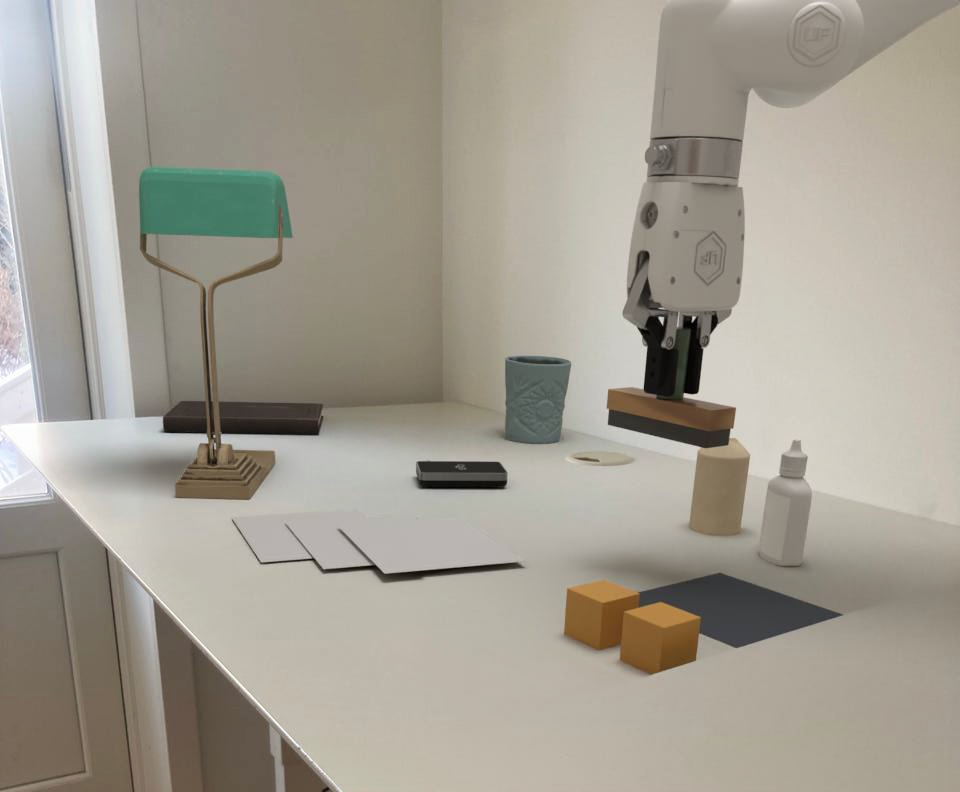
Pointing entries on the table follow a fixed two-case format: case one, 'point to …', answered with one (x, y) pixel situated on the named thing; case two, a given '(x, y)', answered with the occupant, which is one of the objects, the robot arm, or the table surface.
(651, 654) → the cube
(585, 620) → the cube
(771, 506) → the eye dropper bottle
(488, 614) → the table surface
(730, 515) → the candle
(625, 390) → the brush
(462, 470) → the external hard drive
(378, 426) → the table surface
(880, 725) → the table surface
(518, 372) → the embossed green cup
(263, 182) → the banker's lamp
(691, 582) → the mat
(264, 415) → the hardcover book
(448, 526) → the paper stack
